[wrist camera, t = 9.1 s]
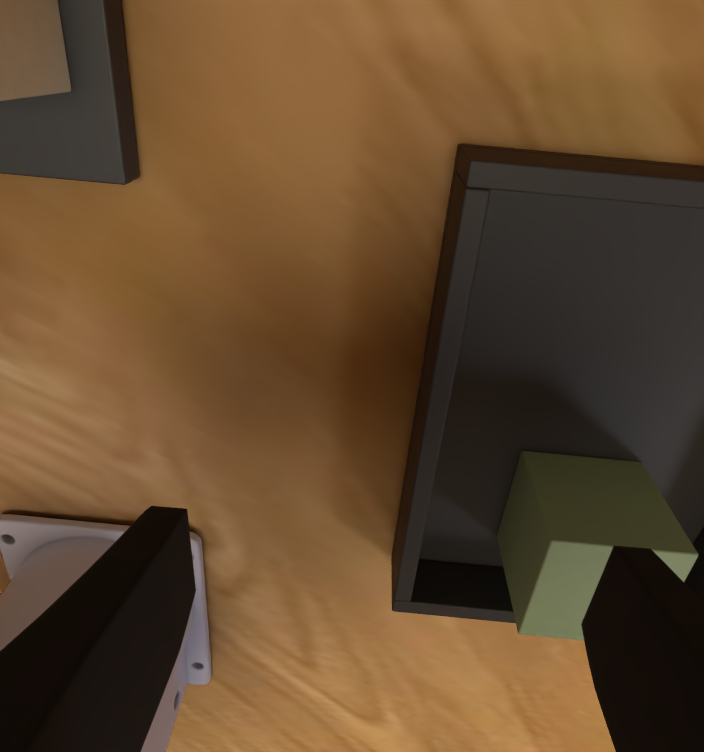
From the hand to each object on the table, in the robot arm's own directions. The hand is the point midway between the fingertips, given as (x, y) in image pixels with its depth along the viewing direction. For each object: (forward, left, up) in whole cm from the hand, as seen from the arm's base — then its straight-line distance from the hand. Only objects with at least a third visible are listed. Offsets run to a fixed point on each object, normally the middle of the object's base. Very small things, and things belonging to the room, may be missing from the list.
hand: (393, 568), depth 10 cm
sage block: (-5, -7, -8) cm, 12 cm away
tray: (-2, -7, -9) cm, 11 cm away
